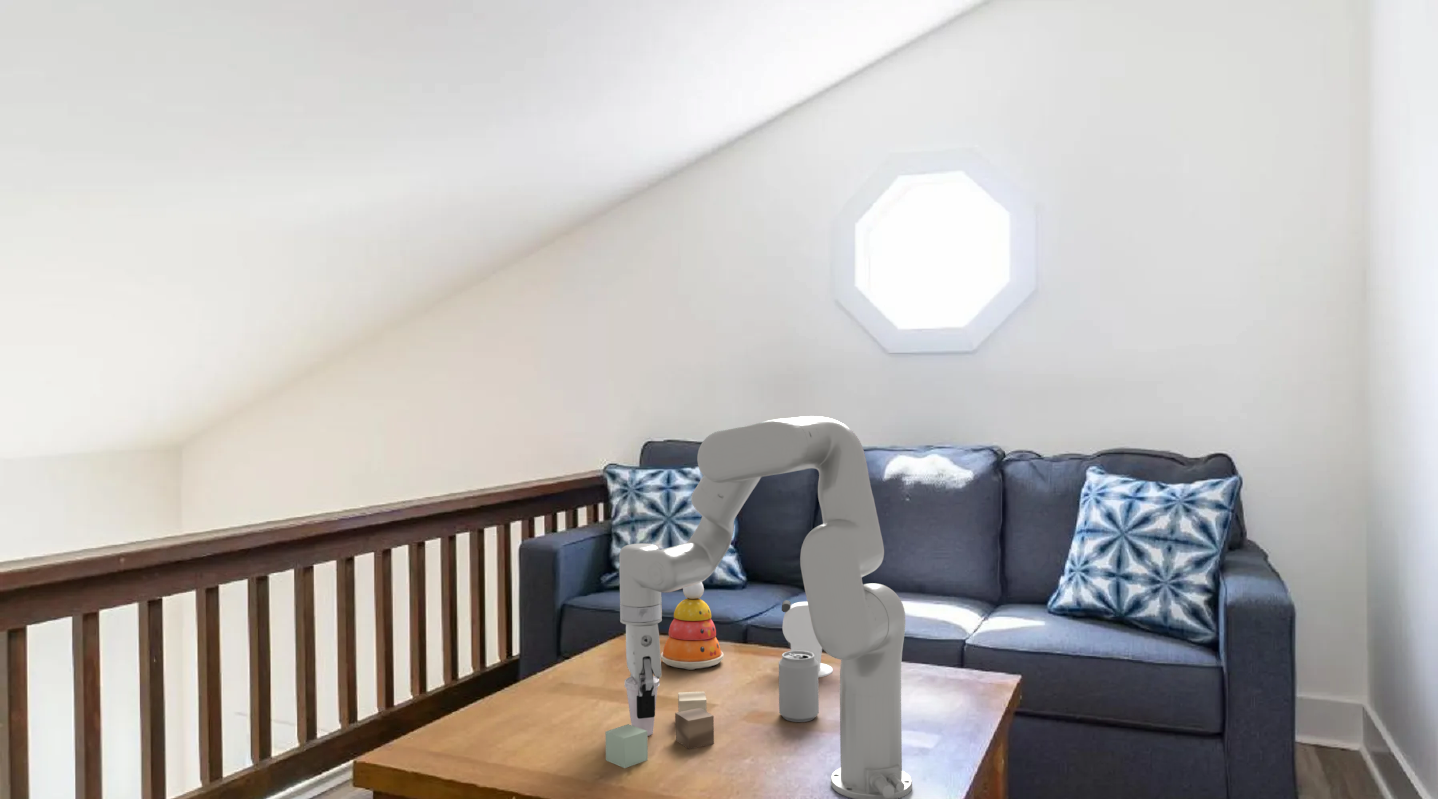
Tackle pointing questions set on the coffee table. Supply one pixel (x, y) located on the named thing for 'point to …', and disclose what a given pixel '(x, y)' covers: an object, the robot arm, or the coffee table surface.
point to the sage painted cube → (626, 746)
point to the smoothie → (632, 701)
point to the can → (798, 686)
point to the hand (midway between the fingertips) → (642, 710)
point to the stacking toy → (692, 634)
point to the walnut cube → (694, 728)
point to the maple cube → (691, 701)
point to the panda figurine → (802, 633)
